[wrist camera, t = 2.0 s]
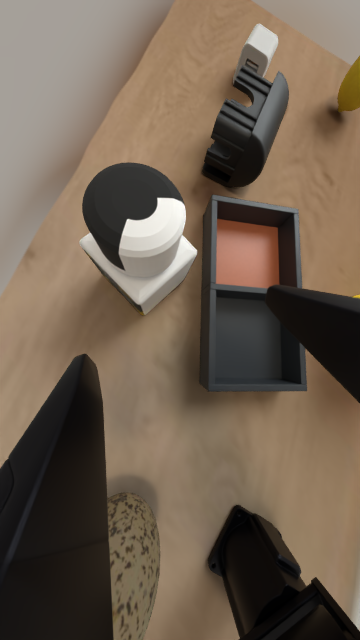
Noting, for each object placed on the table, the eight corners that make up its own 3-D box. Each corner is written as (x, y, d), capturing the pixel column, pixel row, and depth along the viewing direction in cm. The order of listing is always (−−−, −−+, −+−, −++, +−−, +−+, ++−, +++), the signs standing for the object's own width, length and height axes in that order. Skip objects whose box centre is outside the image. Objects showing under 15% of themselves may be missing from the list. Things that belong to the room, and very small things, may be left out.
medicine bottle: (101, 274, 21) (33, 186, 9) (146, 238, 22) (138, 121, 10) (143, 317, 21) (131, 287, 9) (185, 279, 22) (221, 210, 10)
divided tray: (283, 383, 23) (307, 391, 19) (199, 383, 21) (208, 391, 18) (278, 226, 25) (298, 208, 22) (203, 215, 24) (211, 194, 20)
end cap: (243, 199, 25) (276, 148, 18) (199, 176, 24) (216, 114, 18) (264, 147, 27) (302, 83, 20) (223, 124, 26) (248, 49, 19)
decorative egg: (109, 462, 19) (60, 598, 9) (169, 485, 19) (186, 637, 9) (74, 535, 17) (-28, 789, 8) (139, 558, 18) (123, 819, 8)
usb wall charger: (231, 84, 27) (244, 40, 23) (247, 56, 28) (262, 9, 24) (253, 98, 27) (270, 57, 23) (268, 70, 28) (286, 26, 25)
